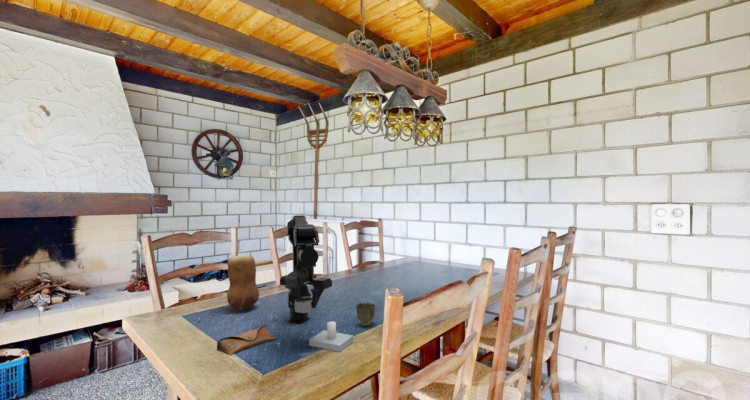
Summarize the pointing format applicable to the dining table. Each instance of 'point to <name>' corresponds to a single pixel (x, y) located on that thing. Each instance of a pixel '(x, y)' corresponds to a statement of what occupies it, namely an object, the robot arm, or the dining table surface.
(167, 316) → the dining table surface
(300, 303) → the hub ring
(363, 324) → the cup
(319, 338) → the shaft block
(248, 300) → the butternut squash
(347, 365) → the dining table surface
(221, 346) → the sunglasses case
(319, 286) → the robot arm
